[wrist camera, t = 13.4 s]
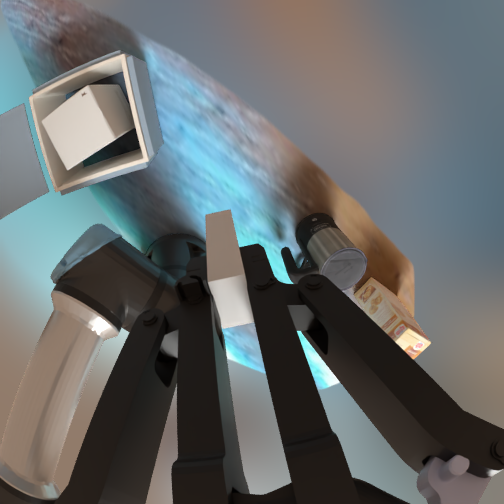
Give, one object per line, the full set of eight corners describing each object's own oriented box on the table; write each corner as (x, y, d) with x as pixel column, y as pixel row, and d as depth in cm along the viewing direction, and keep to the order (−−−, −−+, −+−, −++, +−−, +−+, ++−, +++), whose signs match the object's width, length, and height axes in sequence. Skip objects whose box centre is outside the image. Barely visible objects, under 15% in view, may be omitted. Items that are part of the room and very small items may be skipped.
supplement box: (79, 110, 41) (38, 120, 28) (119, 83, 40) (88, 82, 27) (99, 150, 46) (66, 172, 33) (140, 125, 45) (116, 138, 32)
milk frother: (323, 203, 58) (355, 237, 46) (354, 252, 66) (385, 290, 53) (268, 244, 61) (285, 288, 49) (306, 287, 69) (327, 331, 56)
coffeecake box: (352, 295, 73) (385, 349, 57) (371, 275, 71) (409, 327, 54) (381, 313, 79) (412, 361, 63) (397, 296, 77) (432, 342, 60)
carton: (146, 55, 38) (129, 45, 28) (166, 149, 48) (156, 165, 38) (61, 88, 38) (27, 91, 28) (84, 175, 47) (57, 197, 37)
